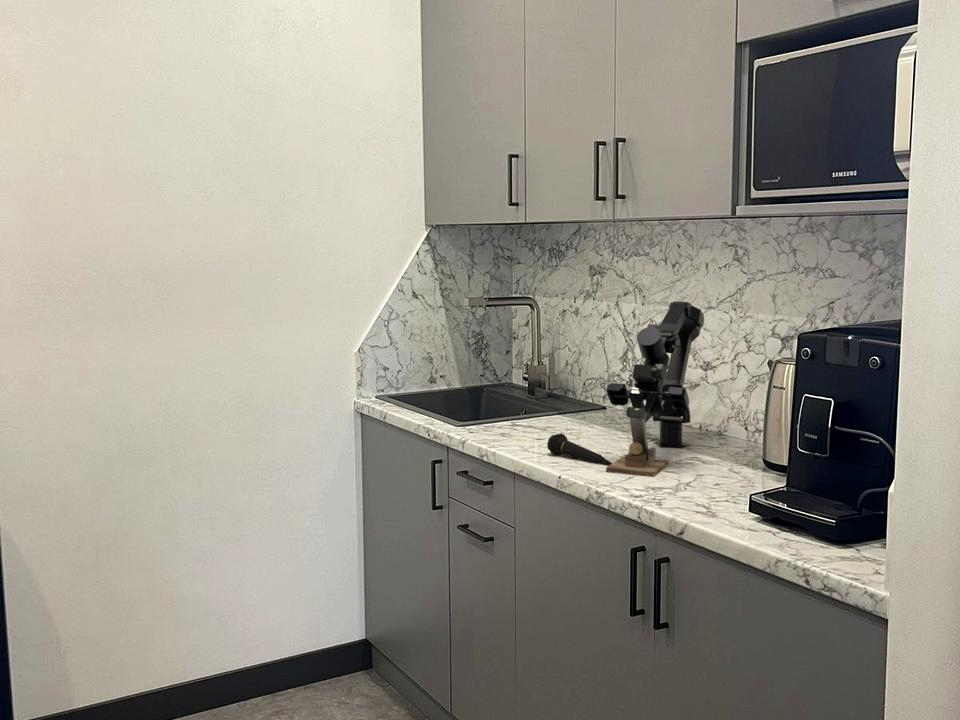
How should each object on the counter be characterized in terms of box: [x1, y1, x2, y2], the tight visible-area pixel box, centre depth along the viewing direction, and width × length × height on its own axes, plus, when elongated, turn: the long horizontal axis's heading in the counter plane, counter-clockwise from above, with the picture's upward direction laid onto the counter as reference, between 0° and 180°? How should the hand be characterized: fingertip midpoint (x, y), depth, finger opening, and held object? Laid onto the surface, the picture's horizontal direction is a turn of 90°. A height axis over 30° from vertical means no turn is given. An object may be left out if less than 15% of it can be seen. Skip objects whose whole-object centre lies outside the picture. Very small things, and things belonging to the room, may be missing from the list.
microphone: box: [546, 433, 613, 466], centre depth 234 cm, size 6×6×20 cm
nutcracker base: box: [605, 441, 670, 478], centre depth 224 cm, size 13×11×6 cm
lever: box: [626, 406, 650, 460], centre depth 224 cm, size 2×4×14 cm, turn 64°
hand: (639, 425), depth 225 cm, fingers closed
